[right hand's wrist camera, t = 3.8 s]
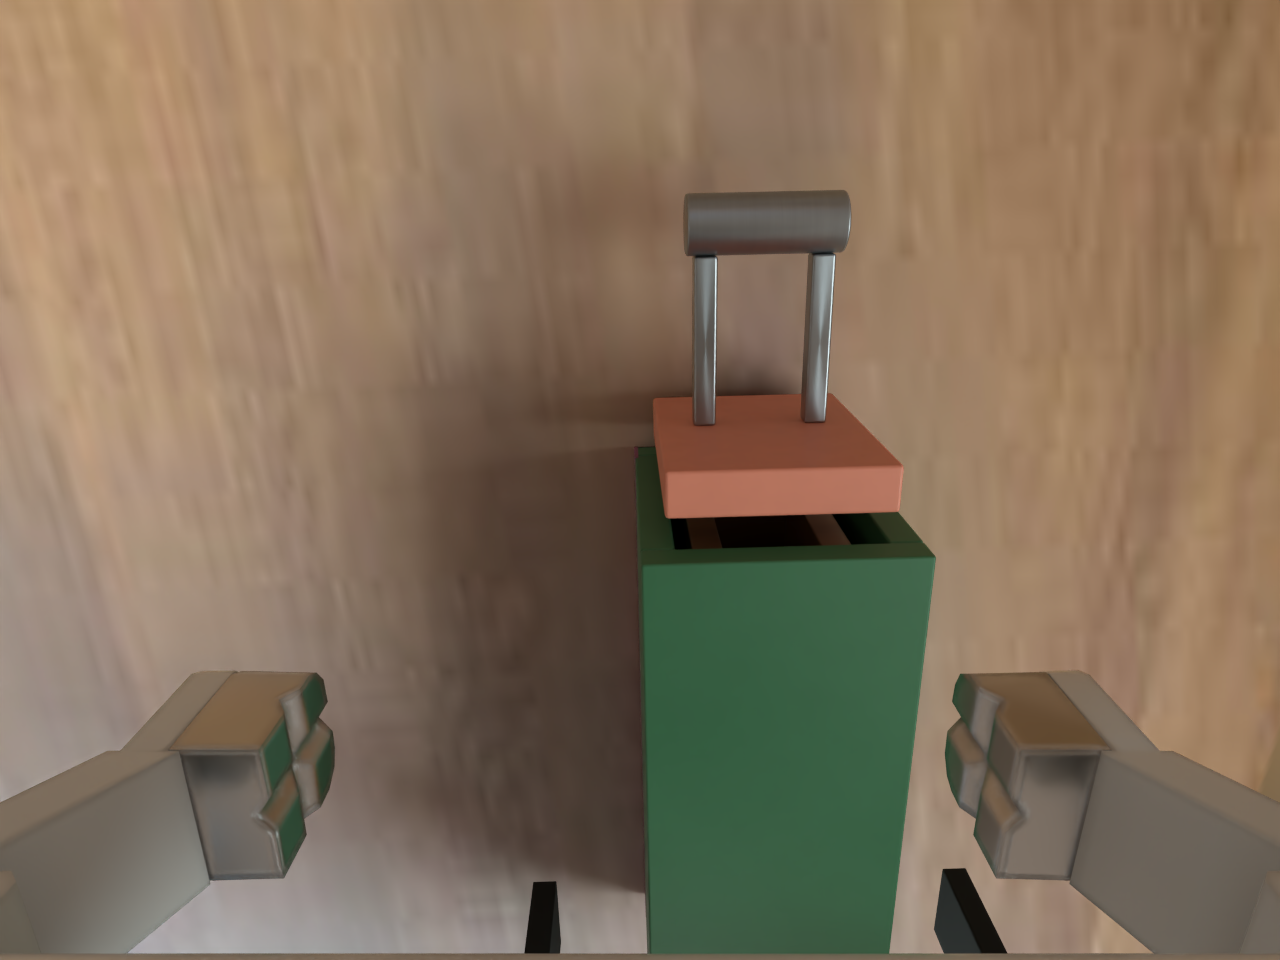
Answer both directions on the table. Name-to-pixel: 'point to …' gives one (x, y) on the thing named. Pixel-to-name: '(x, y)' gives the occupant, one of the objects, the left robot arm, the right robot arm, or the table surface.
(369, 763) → the table surface
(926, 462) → the table surface
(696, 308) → the drawer
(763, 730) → the cabinet
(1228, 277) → the table surface
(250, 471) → the table surface
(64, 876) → the right robot arm
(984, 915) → the left robot arm
